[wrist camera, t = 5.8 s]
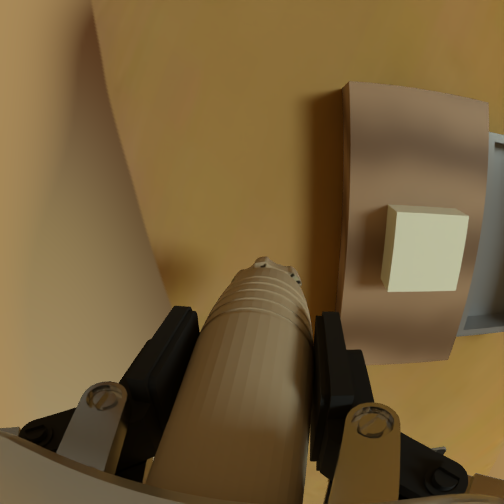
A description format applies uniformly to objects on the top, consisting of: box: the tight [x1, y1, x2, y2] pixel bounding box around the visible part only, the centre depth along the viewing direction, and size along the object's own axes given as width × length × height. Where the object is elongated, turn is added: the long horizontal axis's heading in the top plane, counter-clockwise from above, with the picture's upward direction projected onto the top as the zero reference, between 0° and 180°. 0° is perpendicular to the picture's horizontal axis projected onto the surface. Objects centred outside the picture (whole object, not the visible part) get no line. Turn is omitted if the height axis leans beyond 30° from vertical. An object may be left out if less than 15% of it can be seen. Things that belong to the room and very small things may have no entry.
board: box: [335, 81, 489, 365], centre depth 21 cm, size 20×10×3 cm, turn 2°
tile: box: [381, 205, 469, 292], centre depth 18 cm, size 5×5×2 cm
